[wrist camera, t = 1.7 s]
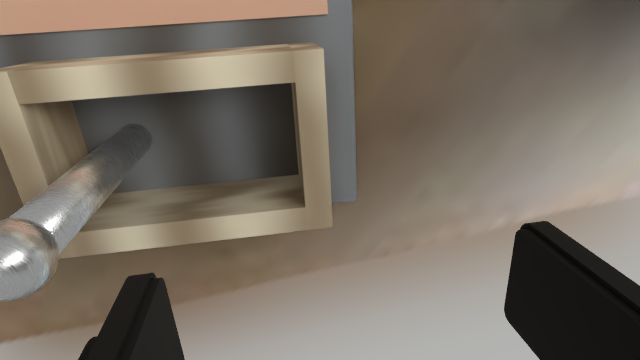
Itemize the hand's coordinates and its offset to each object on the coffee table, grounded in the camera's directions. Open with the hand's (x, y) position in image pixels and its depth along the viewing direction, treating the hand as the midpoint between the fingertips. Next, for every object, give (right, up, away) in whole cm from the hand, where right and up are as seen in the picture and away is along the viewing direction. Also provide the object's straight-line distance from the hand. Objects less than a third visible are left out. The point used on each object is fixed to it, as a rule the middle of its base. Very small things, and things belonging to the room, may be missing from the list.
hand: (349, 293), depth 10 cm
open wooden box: (-9, +6, +15) cm, 18 cm away
